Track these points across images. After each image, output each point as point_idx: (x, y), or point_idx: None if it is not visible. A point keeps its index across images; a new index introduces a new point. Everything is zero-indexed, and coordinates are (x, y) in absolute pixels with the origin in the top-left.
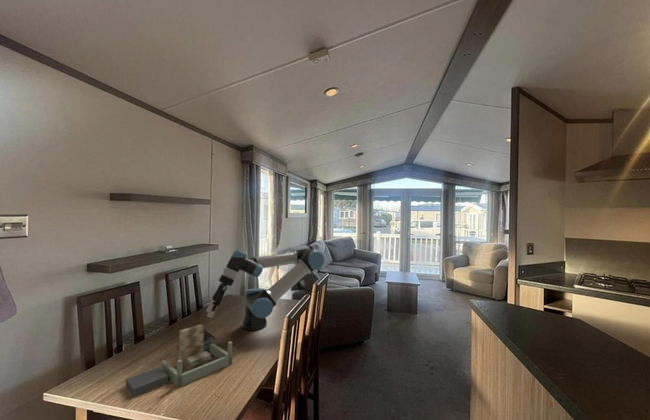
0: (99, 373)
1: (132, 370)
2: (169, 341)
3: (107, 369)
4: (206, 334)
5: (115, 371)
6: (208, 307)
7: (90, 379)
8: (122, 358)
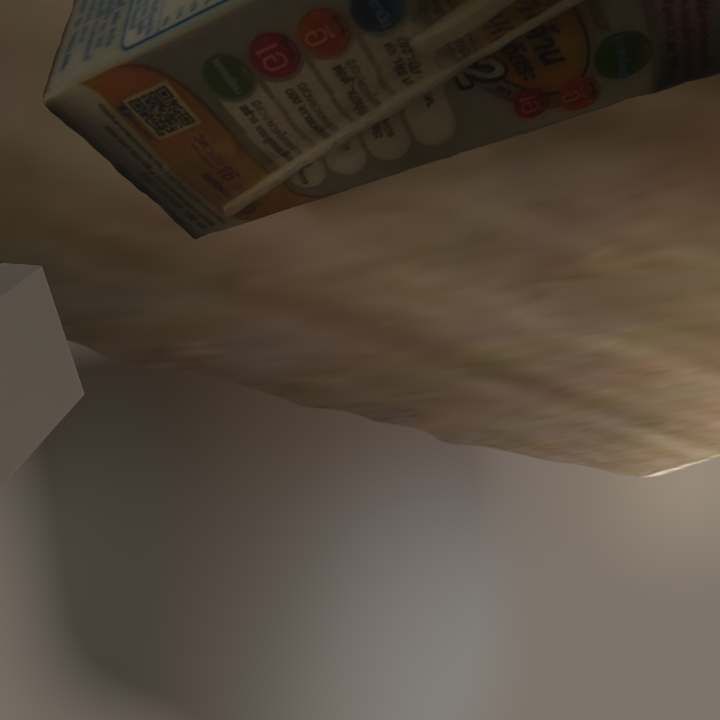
0: (556, 432)
1: (628, 363)
2: (195, 266)
3: (529, 422)
4: (414, 6)
5: (579, 403)
6: (7, 456)
7: (600, 440)
8: (418, 404)
